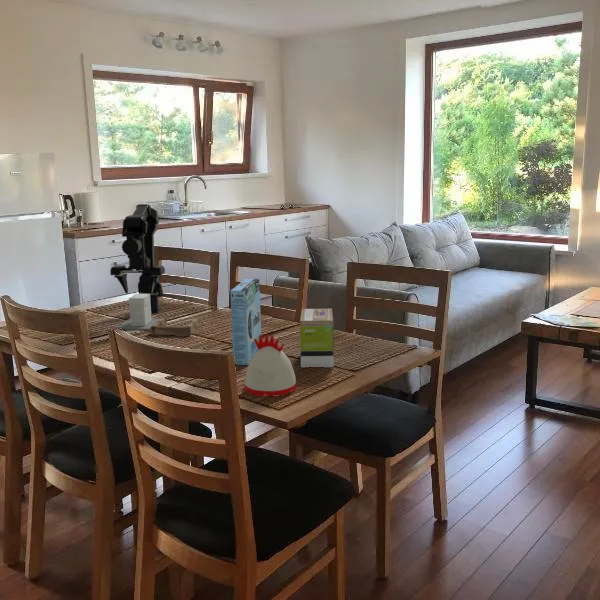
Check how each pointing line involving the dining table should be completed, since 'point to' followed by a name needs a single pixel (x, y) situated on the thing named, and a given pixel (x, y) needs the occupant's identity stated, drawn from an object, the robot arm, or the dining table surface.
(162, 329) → the walnut bay
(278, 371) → the kitchen timer
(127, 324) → the slate mat
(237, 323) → the blue thin cardboard box
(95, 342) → the dining table surface
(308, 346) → the tea box
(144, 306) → the small box
